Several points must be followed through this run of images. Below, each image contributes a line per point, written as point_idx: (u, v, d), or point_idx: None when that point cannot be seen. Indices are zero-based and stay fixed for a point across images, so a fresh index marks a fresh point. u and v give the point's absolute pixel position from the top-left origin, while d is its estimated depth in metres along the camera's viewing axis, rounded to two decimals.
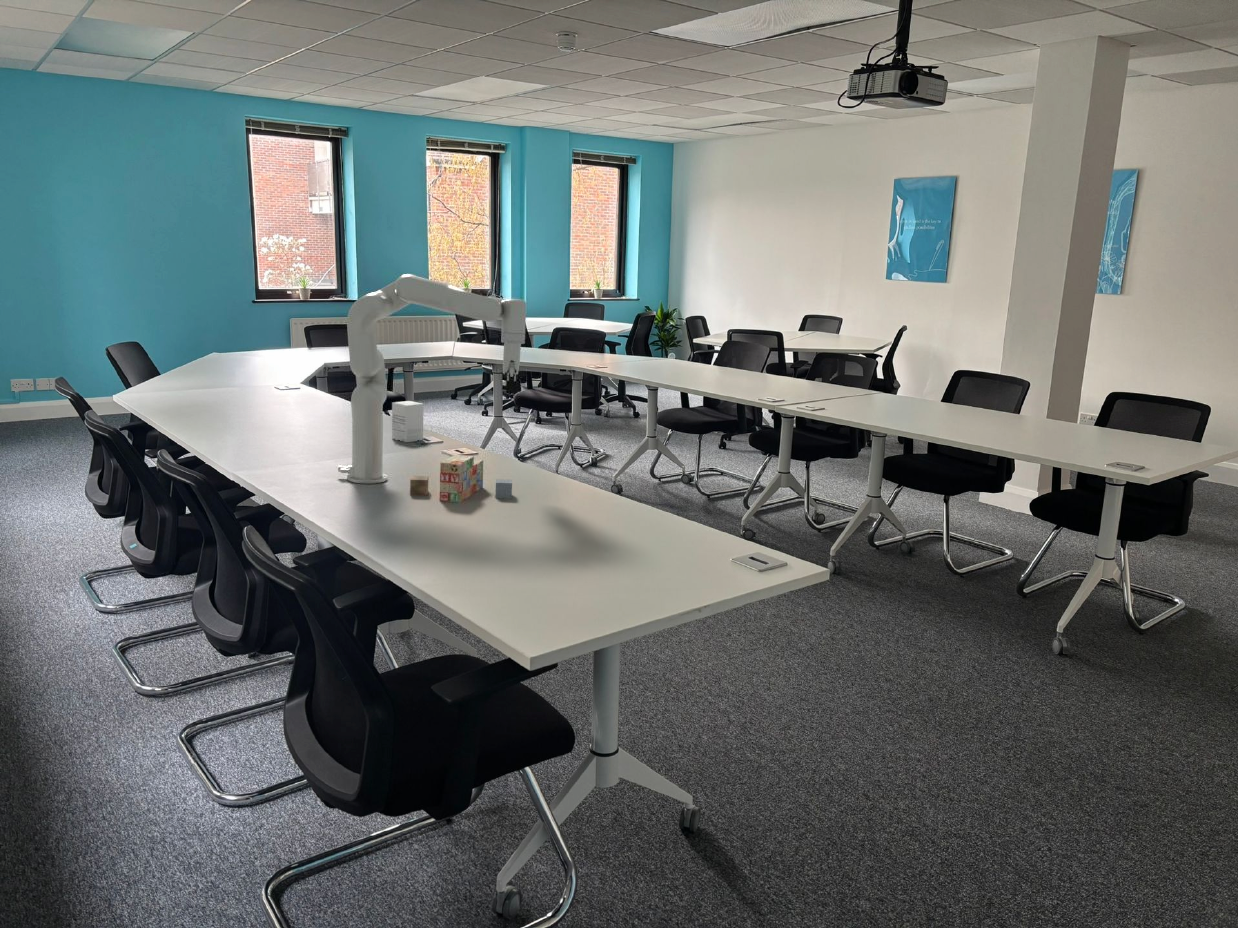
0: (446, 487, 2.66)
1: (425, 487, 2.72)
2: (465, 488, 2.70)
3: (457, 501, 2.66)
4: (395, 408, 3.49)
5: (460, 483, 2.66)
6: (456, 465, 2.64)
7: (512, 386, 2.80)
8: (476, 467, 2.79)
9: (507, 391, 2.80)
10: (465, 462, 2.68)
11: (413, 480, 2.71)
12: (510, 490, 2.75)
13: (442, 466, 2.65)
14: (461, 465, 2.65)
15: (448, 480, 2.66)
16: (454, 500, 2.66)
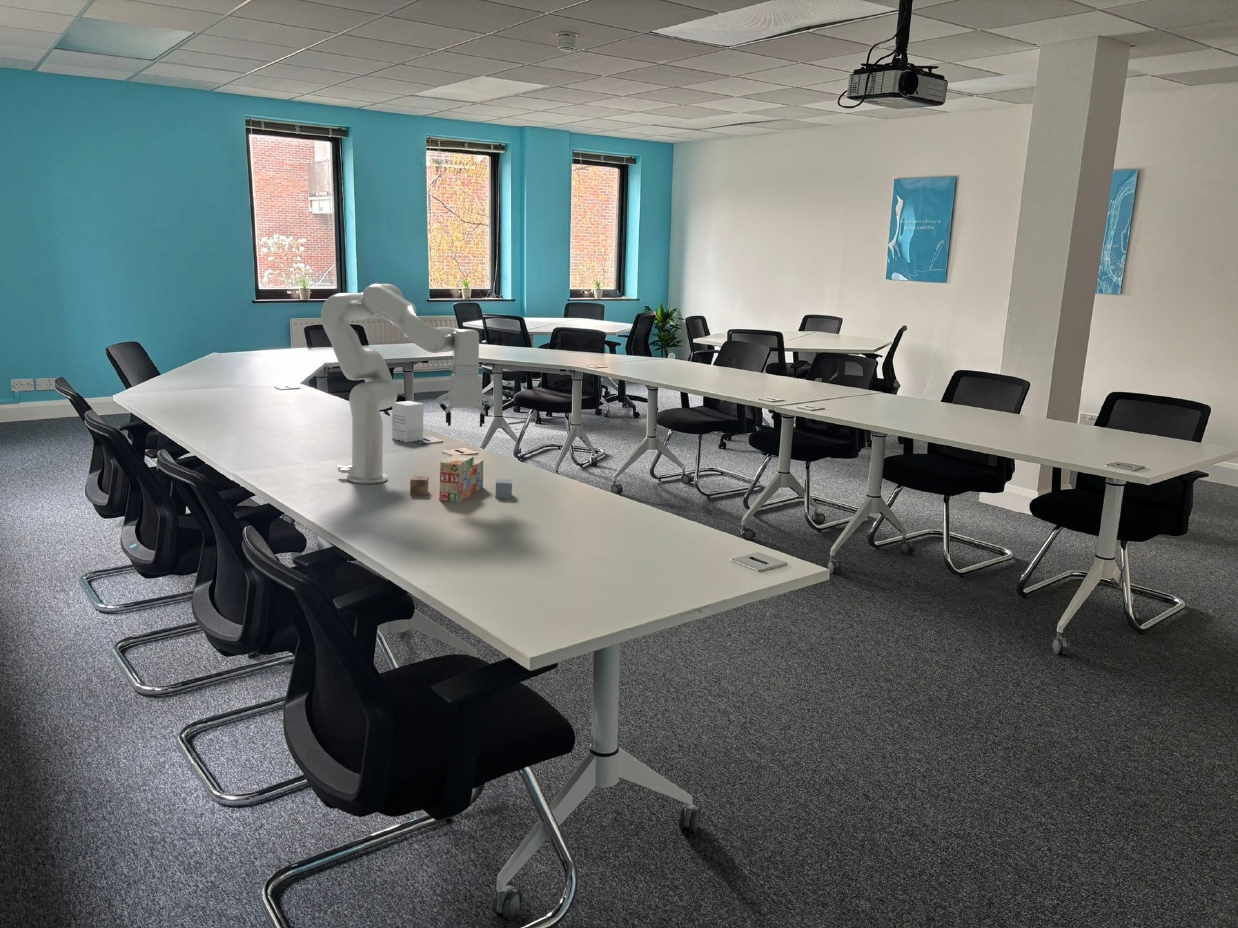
0: (446, 486, 2.66)
1: (425, 487, 2.72)
2: (465, 488, 2.71)
3: (457, 501, 2.67)
4: (395, 408, 3.49)
5: (460, 483, 2.67)
6: (456, 465, 2.64)
7: (484, 418, 2.73)
8: (476, 467, 2.79)
9: None
10: (465, 462, 2.69)
11: (413, 480, 2.71)
12: (510, 490, 2.75)
13: (442, 466, 2.65)
14: (461, 465, 2.65)
15: (447, 480, 2.66)
16: (454, 500, 2.67)
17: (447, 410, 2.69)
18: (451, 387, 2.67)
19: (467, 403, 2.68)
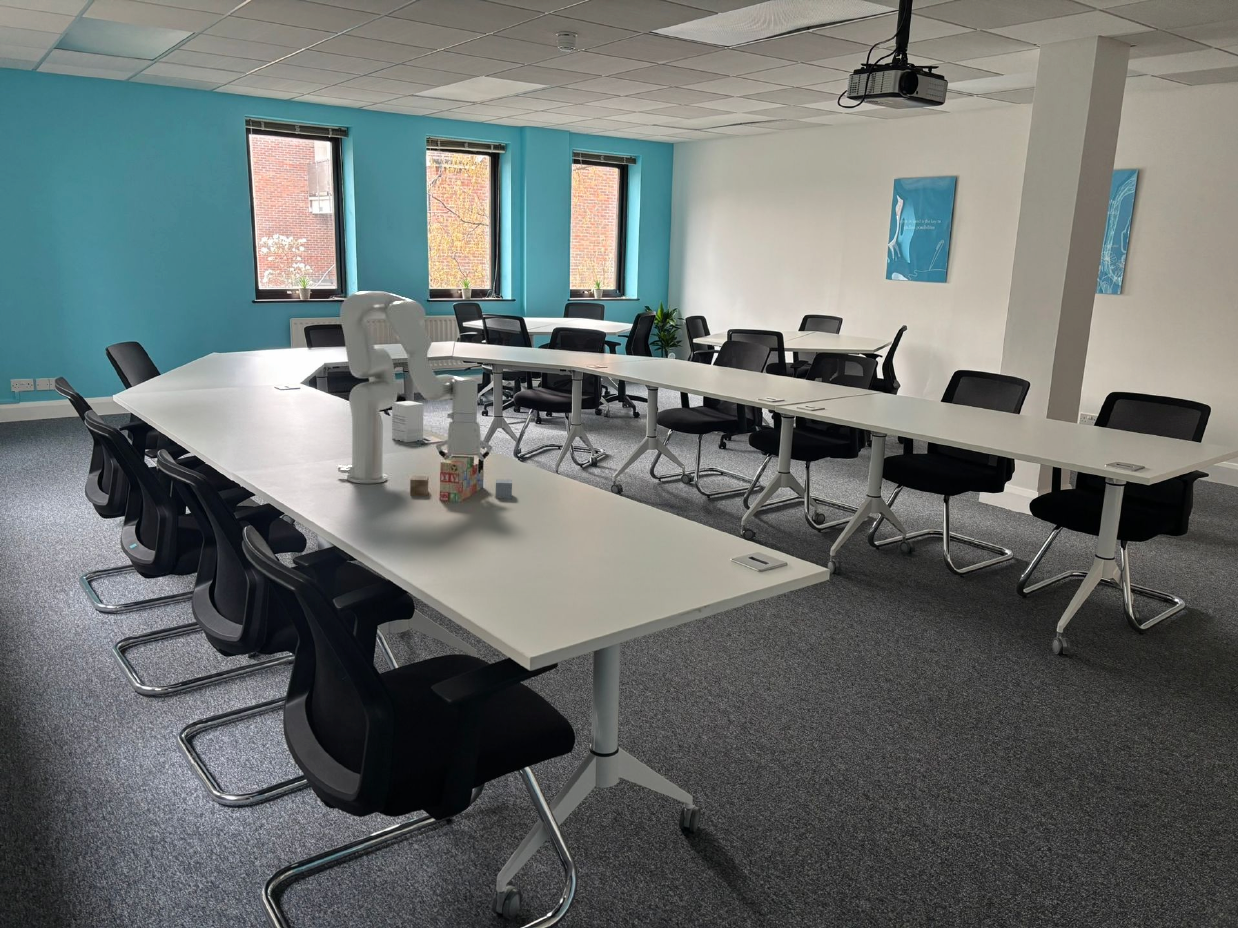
0: (446, 486, 2.66)
1: (425, 487, 2.72)
2: (465, 487, 2.71)
3: (457, 501, 2.67)
4: (395, 408, 3.49)
5: (460, 483, 2.67)
6: (456, 465, 2.64)
7: None
8: (476, 467, 2.79)
9: (480, 471, 2.75)
10: (465, 462, 2.69)
11: (413, 480, 2.71)
12: (510, 490, 2.75)
13: (442, 466, 2.65)
14: (461, 465, 2.66)
15: (447, 480, 2.66)
16: (454, 500, 2.67)
17: (446, 457, 2.72)
18: (450, 434, 2.70)
19: (466, 450, 2.71)
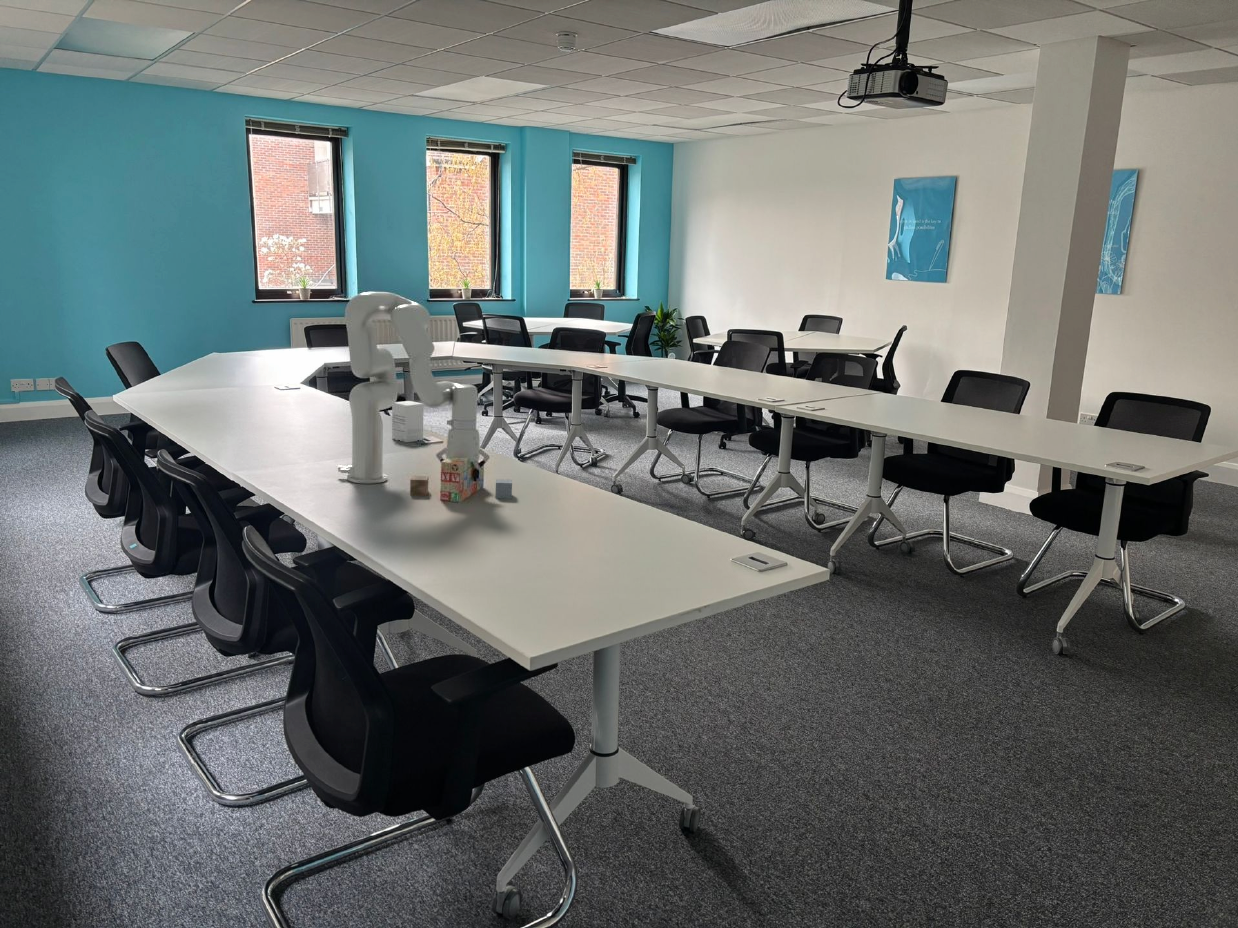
0: (447, 486, 2.66)
1: (425, 487, 2.72)
2: (466, 487, 2.71)
3: (458, 500, 2.67)
4: (395, 408, 3.49)
5: (461, 482, 2.67)
6: (457, 464, 2.64)
7: None
8: None
9: (476, 479, 2.75)
10: (466, 461, 2.69)
11: (413, 480, 2.71)
12: (510, 490, 2.75)
13: (443, 465, 2.65)
14: (462, 464, 2.66)
15: (448, 480, 2.66)
16: (455, 499, 2.67)
17: None
18: (449, 441, 2.70)
19: (464, 457, 2.72)
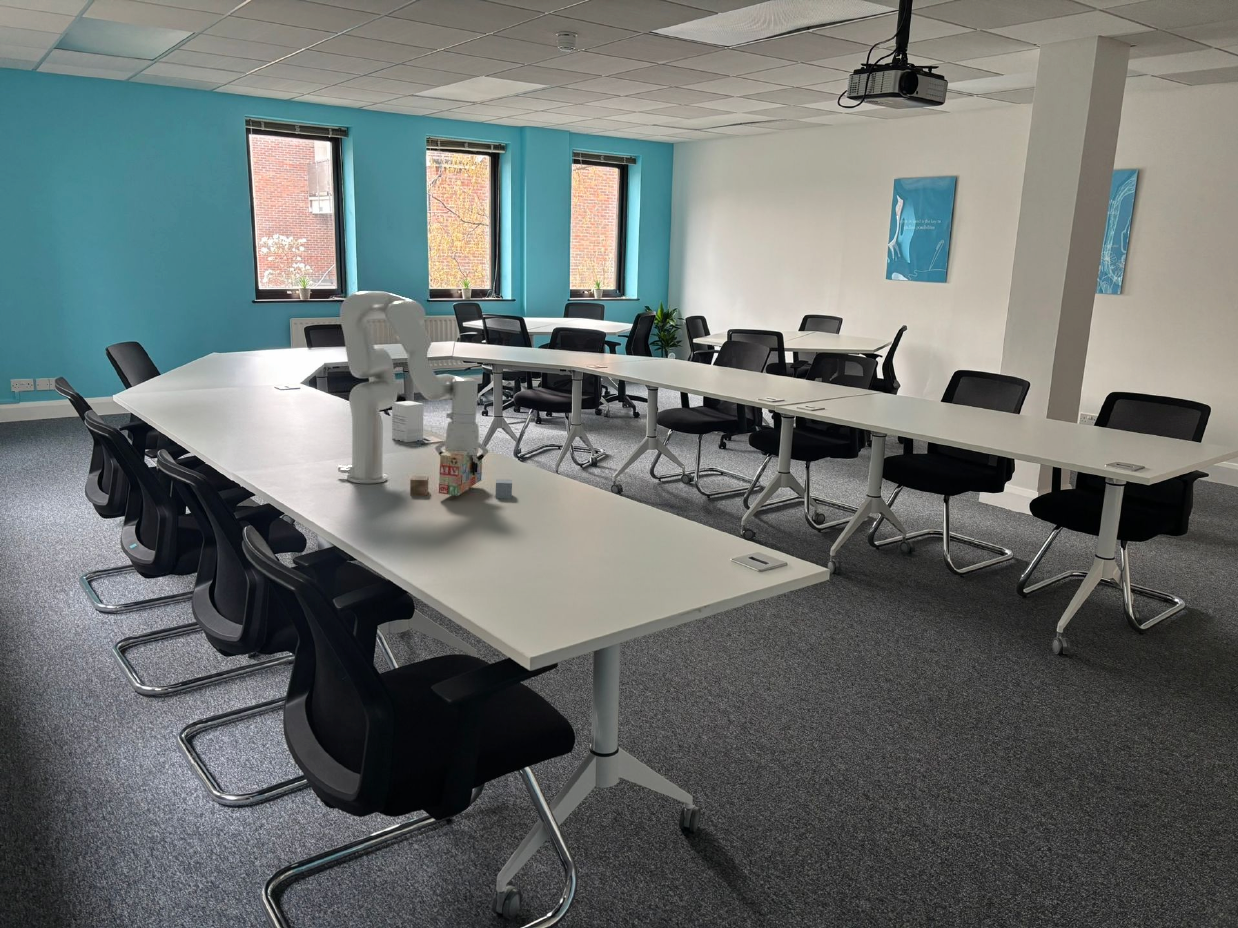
0: (446, 479, 2.66)
1: (425, 487, 2.72)
2: (464, 480, 2.71)
3: (456, 494, 2.67)
4: (395, 408, 3.49)
5: (460, 476, 2.67)
6: (456, 458, 2.64)
7: (477, 466, 2.76)
8: None
9: (474, 473, 2.75)
10: (465, 455, 2.69)
11: (413, 480, 2.71)
12: (510, 490, 2.75)
13: (442, 458, 2.65)
14: (461, 458, 2.65)
15: (447, 473, 2.66)
16: (453, 493, 2.67)
17: None
18: (448, 434, 2.70)
19: None
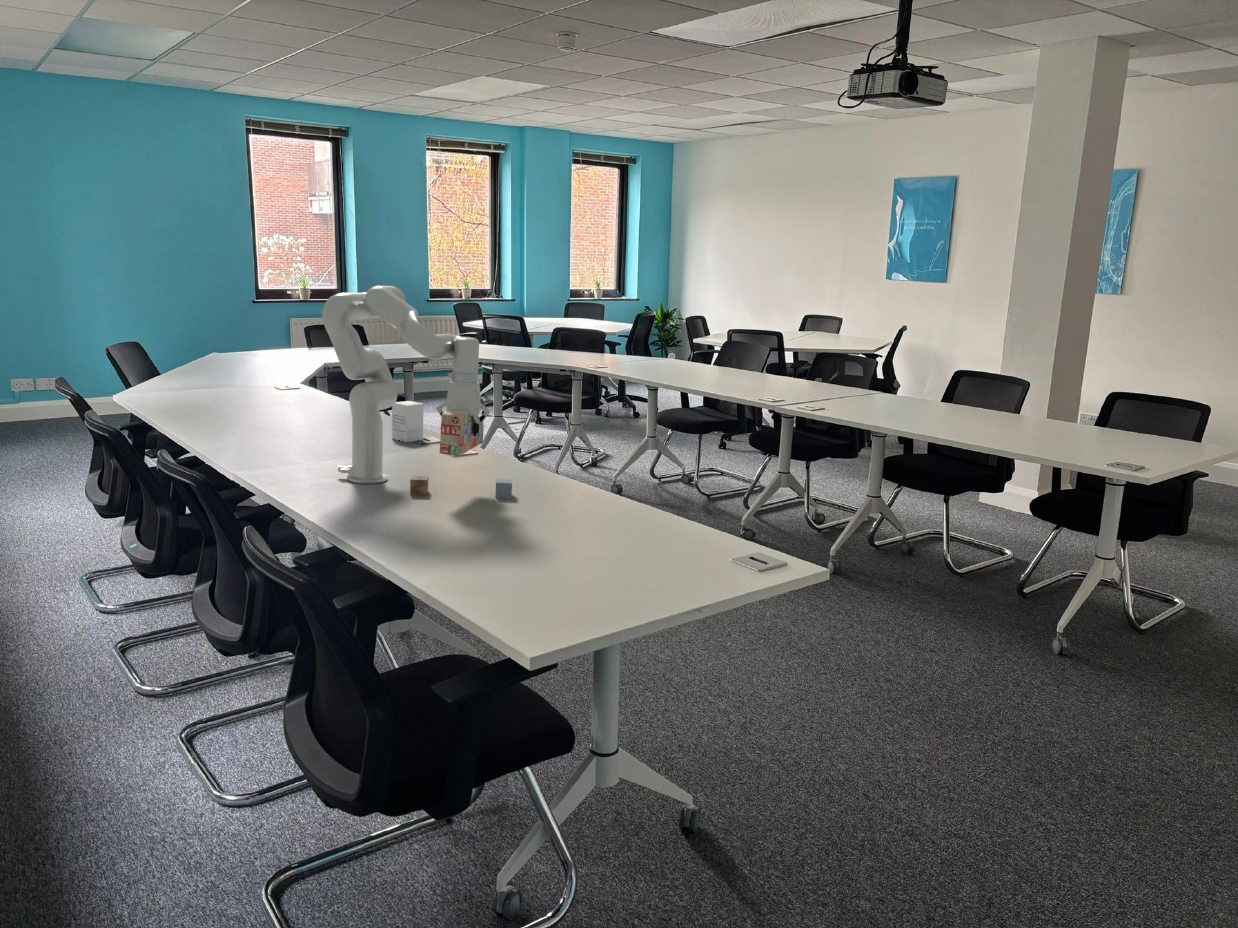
0: (447, 439, 2.63)
1: (425, 487, 2.72)
2: (465, 441, 2.68)
3: (457, 454, 2.64)
4: (395, 408, 3.49)
5: (461, 435, 2.64)
6: (457, 417, 2.61)
7: None
8: None
9: None
10: (466, 415, 2.66)
11: (413, 480, 2.71)
12: (510, 490, 2.75)
13: (443, 418, 2.62)
14: (462, 417, 2.63)
15: (448, 433, 2.63)
16: (454, 452, 2.64)
17: None
18: (449, 394, 2.67)
19: (465, 411, 2.69)
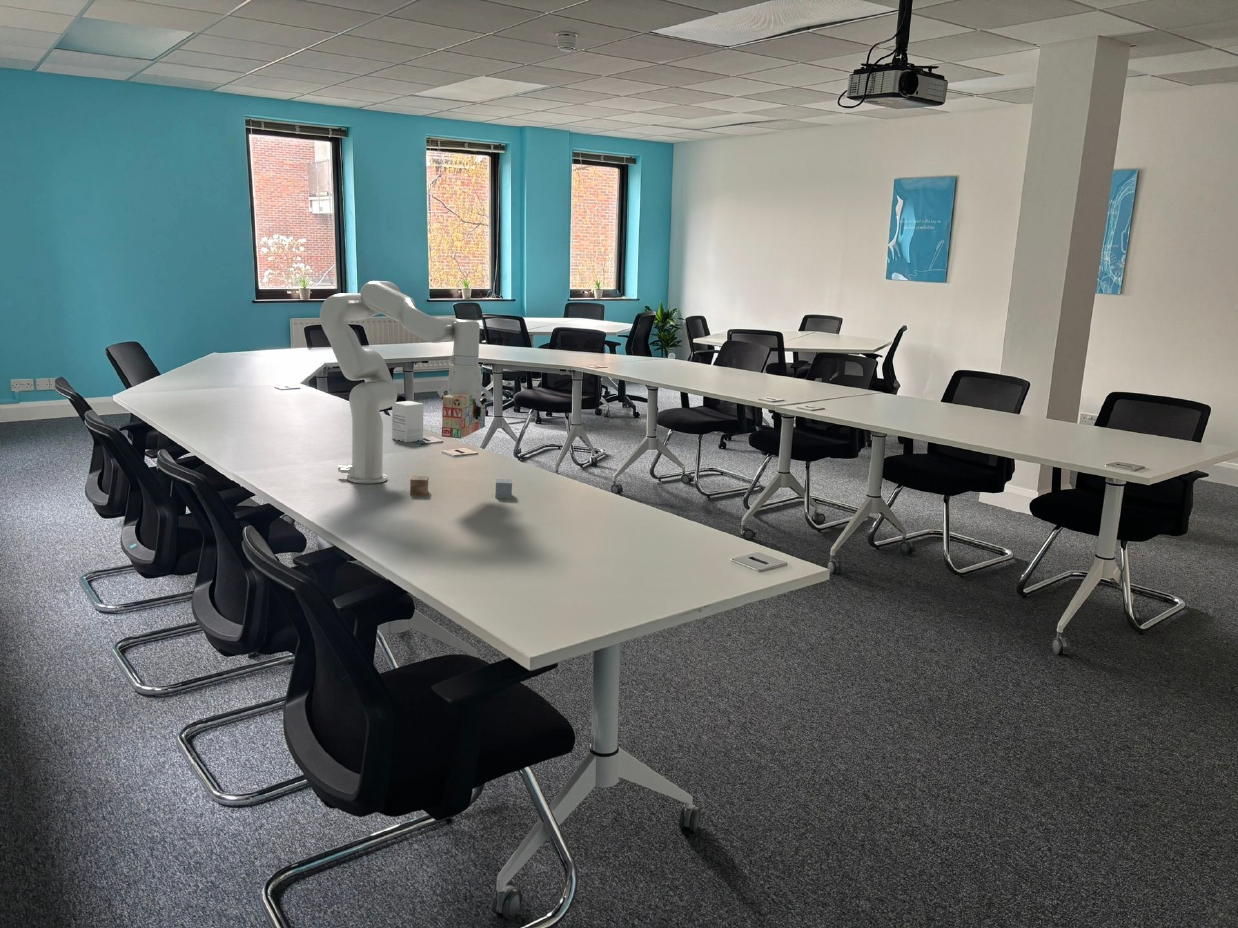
0: (449, 422, 2.62)
1: (425, 487, 2.72)
2: (467, 424, 2.67)
3: (459, 436, 2.63)
4: (395, 408, 3.49)
5: (463, 418, 2.63)
6: (459, 399, 2.60)
7: (480, 411, 2.72)
8: None
9: None
10: (468, 397, 2.65)
11: (413, 480, 2.71)
12: (510, 490, 2.75)
13: (444, 400, 2.61)
14: (464, 400, 2.61)
15: (450, 415, 2.62)
16: (456, 435, 2.63)
17: None
18: (450, 377, 2.66)
19: (466, 394, 2.68)
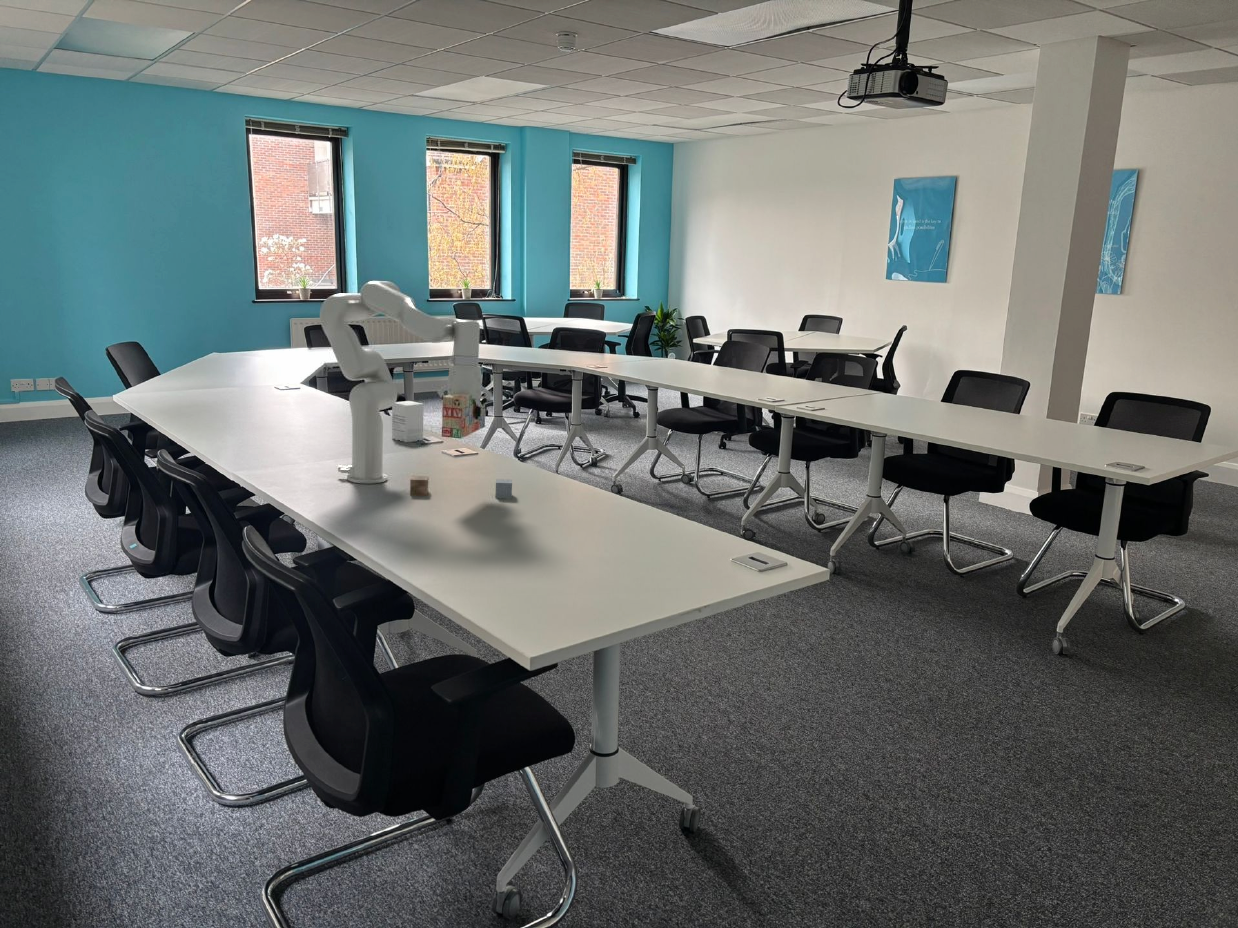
0: (449, 422, 2.62)
1: (425, 487, 2.72)
2: (467, 424, 2.67)
3: (459, 436, 2.63)
4: (395, 408, 3.49)
5: (463, 418, 2.63)
6: (459, 399, 2.60)
7: (480, 411, 2.72)
8: None
9: None
10: (468, 397, 2.65)
11: (413, 480, 2.71)
12: (510, 490, 2.75)
13: (444, 400, 2.61)
14: (464, 400, 2.61)
15: (450, 415, 2.62)
16: (456, 435, 2.63)
17: None
18: (450, 377, 2.66)
19: (466, 394, 2.68)
